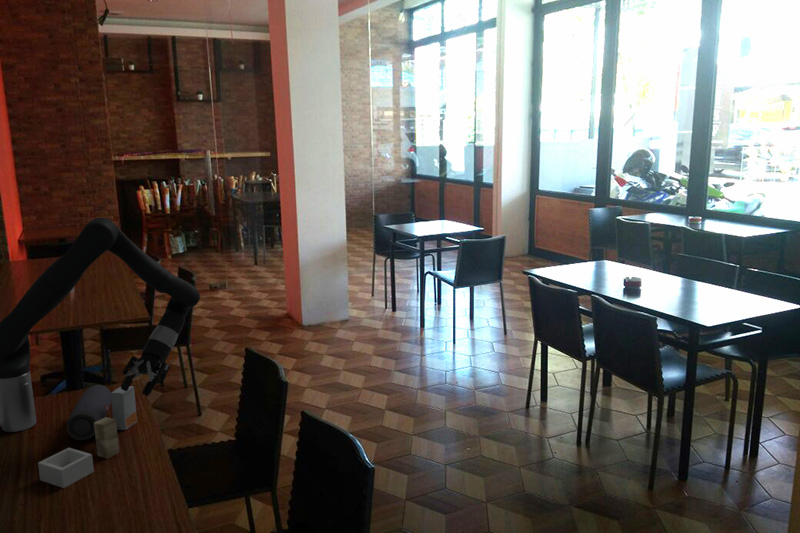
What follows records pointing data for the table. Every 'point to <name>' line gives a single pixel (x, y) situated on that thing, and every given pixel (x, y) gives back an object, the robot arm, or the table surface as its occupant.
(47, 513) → the table surface
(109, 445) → the birch peg
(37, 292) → the robot arm
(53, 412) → the table surface
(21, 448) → the table surface
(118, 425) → the skincare box
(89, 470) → the socket stand
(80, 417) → the bluetooth speaker
